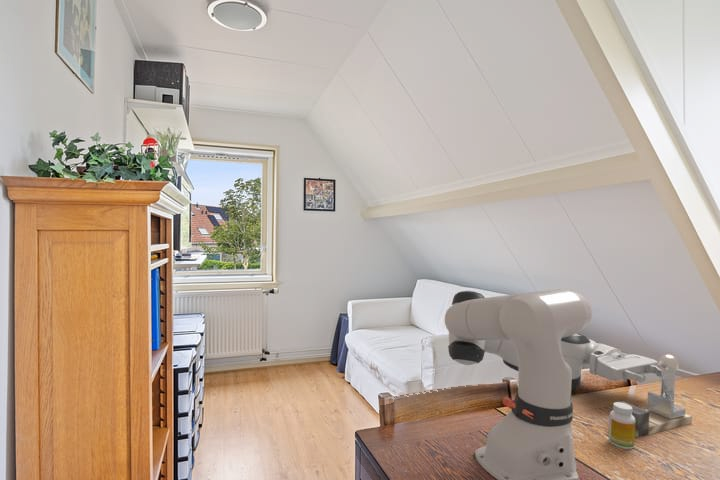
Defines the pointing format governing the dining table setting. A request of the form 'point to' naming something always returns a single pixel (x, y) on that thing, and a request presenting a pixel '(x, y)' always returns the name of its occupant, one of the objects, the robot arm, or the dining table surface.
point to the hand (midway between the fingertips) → (654, 377)
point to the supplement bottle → (622, 426)
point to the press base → (654, 421)
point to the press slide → (666, 390)
